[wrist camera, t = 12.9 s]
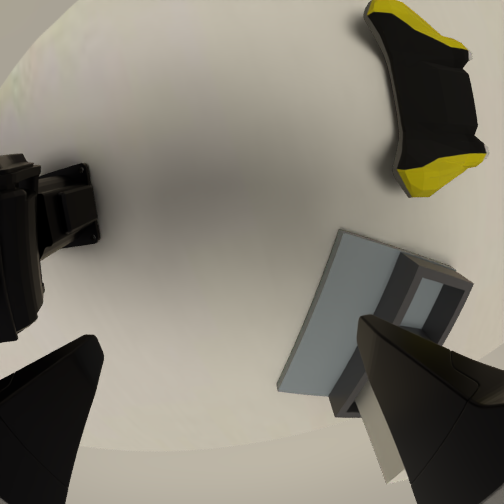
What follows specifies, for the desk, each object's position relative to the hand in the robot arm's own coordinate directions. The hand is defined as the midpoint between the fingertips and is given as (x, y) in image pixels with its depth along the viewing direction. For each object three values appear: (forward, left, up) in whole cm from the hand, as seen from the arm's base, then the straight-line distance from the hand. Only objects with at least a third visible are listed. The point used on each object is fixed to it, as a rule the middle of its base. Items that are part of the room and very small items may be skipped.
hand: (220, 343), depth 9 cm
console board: (+11, -10, -13) cm, 20 cm away
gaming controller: (+15, +10, -13) cm, 23 cm away
